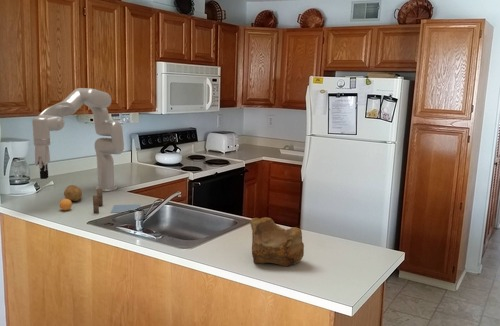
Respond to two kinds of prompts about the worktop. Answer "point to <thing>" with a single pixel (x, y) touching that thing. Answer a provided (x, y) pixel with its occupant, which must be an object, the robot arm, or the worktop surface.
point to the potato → (73, 193)
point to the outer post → (95, 204)
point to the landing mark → (124, 208)
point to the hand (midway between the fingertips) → (44, 178)
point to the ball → (65, 204)
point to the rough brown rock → (275, 243)
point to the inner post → (100, 197)
